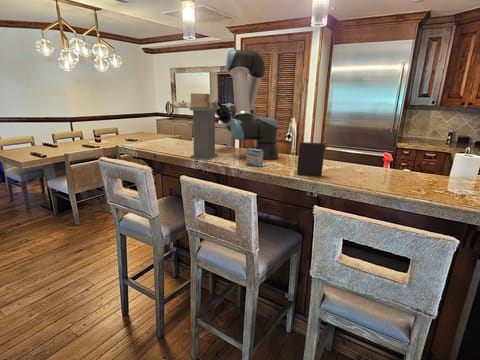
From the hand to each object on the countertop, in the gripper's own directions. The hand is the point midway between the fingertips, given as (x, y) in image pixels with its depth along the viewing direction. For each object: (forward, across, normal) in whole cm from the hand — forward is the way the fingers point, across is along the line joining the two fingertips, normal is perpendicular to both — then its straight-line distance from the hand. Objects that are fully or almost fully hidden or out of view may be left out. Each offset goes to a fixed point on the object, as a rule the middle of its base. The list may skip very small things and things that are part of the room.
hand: (212, 99), depth 166 cm
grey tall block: (-8, 0, -33) cm, 34 cm away
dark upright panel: (+3, -62, -40) cm, 74 cm away
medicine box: (-2, -33, -37) cm, 49 cm away
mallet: (+1, 0, -5) cm, 6 cm away
